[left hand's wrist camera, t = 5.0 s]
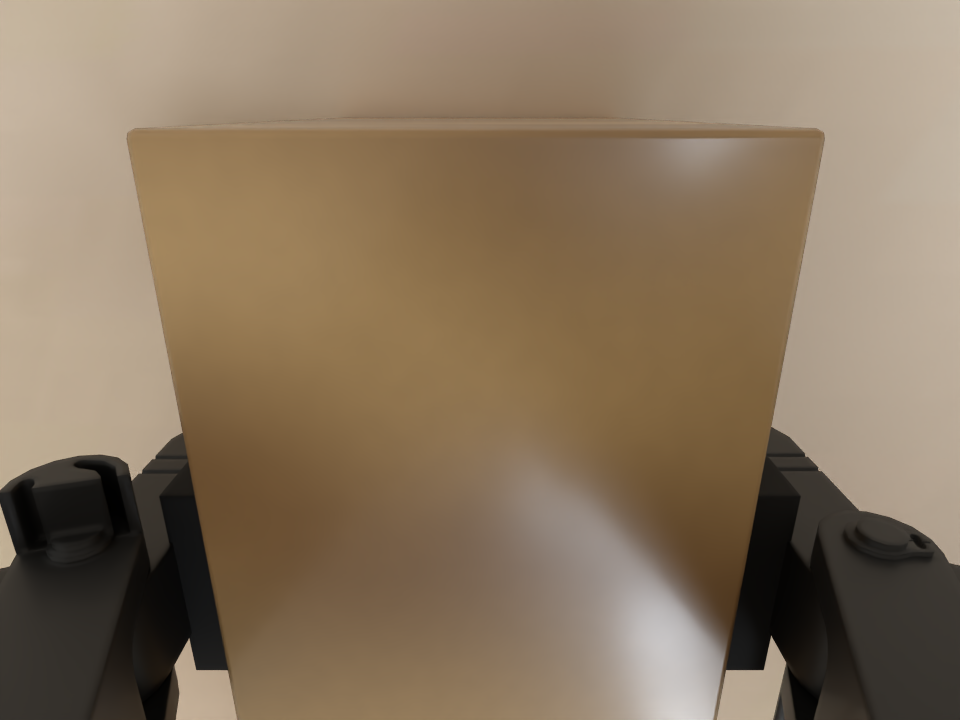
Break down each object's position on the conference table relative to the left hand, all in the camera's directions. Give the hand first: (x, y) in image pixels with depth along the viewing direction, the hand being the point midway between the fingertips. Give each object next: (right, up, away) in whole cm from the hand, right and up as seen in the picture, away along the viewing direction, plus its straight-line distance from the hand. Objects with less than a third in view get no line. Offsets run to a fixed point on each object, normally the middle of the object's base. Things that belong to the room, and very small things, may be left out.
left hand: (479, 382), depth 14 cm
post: (0, -26, +11) cm, 29 cm away
